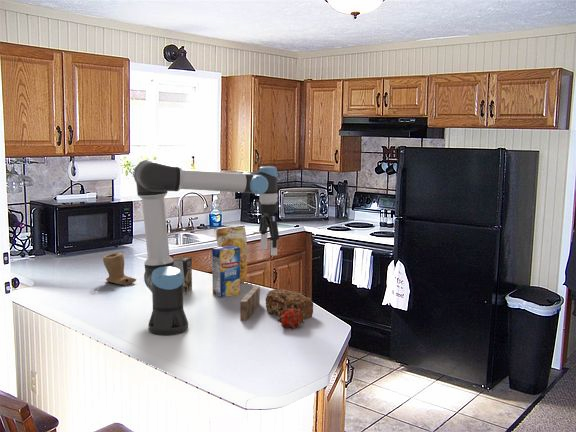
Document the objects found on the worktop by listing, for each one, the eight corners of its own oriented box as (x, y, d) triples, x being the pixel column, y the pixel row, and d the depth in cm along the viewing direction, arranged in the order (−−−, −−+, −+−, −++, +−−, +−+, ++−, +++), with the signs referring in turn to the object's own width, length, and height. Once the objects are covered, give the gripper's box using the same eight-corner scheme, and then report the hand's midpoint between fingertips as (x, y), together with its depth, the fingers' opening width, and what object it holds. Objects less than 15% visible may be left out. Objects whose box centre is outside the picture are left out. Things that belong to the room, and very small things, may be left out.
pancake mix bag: (212, 283, 308) (212, 228, 304) (244, 278, 320) (244, 224, 316) (220, 286, 303) (219, 230, 299) (252, 280, 315) (252, 226, 311)
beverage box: (212, 294, 289) (212, 248, 286) (232, 290, 296) (231, 245, 293) (220, 297, 284) (220, 250, 281) (240, 293, 291) (240, 247, 287)
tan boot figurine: (99, 282, 309) (98, 253, 307) (120, 278, 317) (119, 249, 315) (115, 288, 298) (114, 257, 296) (137, 283, 307) (136, 254, 305)
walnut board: (246, 320, 250) (246, 301, 249) (240, 320, 251) (240, 301, 250) (259, 304, 274) (259, 286, 273) (254, 303, 274) (254, 286, 273)
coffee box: (185, 295, 287) (185, 261, 285) (172, 294, 289) (172, 260, 286) (192, 289, 296) (192, 257, 294) (180, 289, 298) (179, 256, 295)
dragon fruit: (307, 329, 246) (280, 337, 241) (298, 312, 251) (271, 320, 246) (311, 316, 240) (284, 325, 235) (302, 299, 245) (274, 307, 240)
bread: (264, 312, 262) (264, 289, 260) (282, 307, 269) (282, 285, 268) (296, 322, 249) (297, 298, 248) (314, 317, 257) (314, 293, 255)
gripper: (286, 206, 252) (286, 257, 255) (267, 199, 275) (268, 245, 279) (269, 207, 250) (269, 258, 253) (251, 199, 273) (252, 247, 276)
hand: (268, 252), depth 266 cm, fingers open, 13 cm apart
